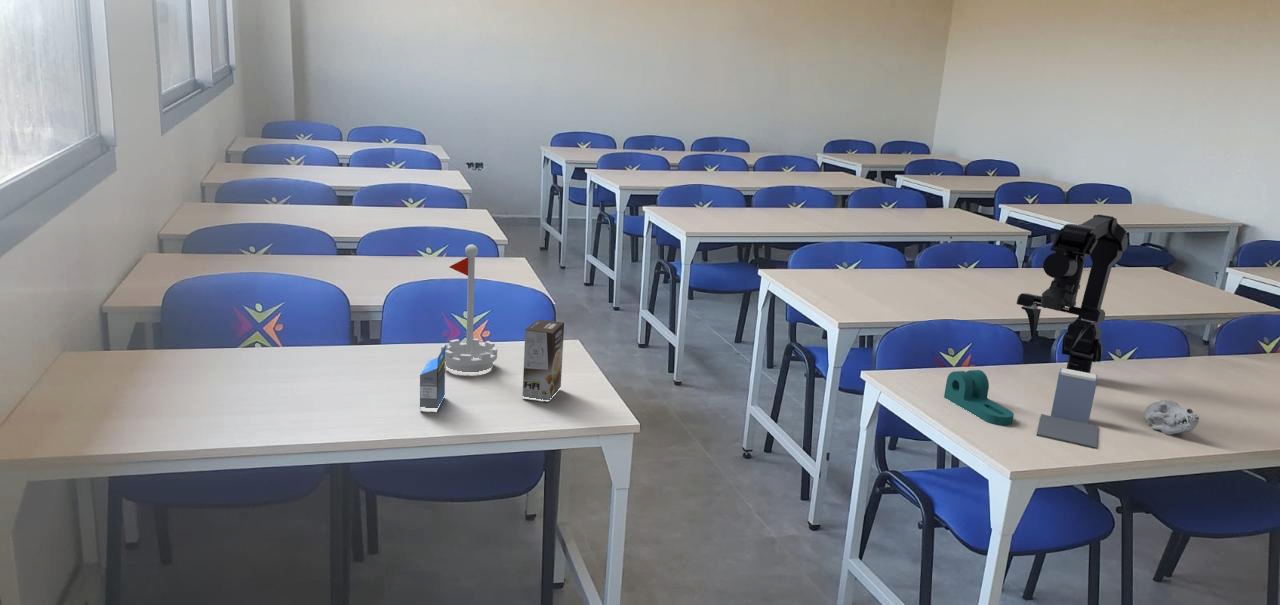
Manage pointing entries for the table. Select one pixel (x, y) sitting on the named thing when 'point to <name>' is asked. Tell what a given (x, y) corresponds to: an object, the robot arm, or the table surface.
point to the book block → (1074, 395)
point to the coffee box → (543, 359)
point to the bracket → (976, 397)
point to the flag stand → (469, 328)
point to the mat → (1068, 431)
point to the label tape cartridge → (433, 382)
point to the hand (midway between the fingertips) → (1051, 342)
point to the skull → (1170, 417)
